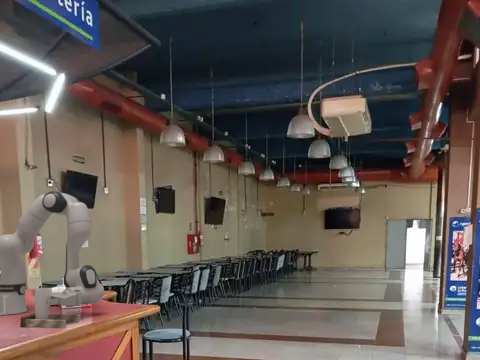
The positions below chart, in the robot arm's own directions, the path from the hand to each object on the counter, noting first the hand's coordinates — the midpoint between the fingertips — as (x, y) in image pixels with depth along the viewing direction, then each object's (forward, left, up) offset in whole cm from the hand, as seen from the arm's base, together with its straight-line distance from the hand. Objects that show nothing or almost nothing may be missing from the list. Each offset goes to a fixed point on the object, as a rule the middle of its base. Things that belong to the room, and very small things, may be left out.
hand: (41, 301), depth 197 cm
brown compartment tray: (+4, +1, -10) cm, 11 cm away
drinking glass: (0, +1, -10) cm, 10 cm away
